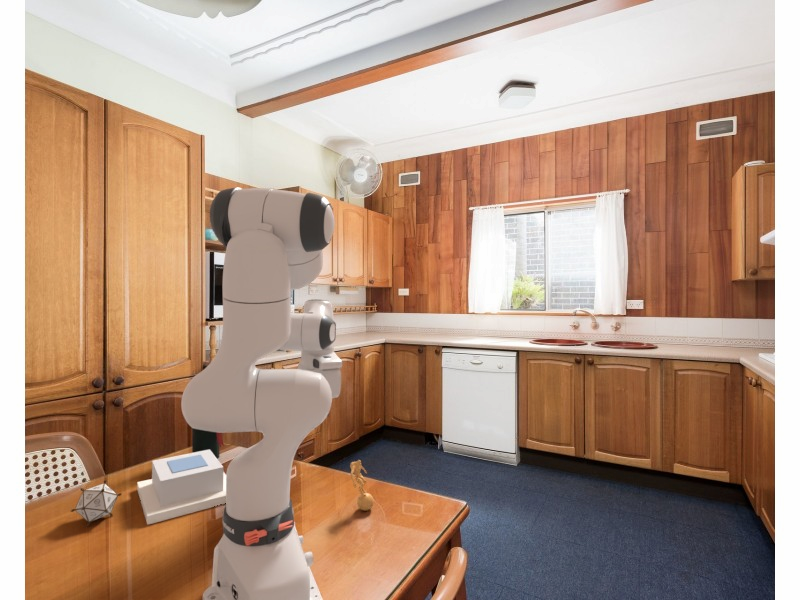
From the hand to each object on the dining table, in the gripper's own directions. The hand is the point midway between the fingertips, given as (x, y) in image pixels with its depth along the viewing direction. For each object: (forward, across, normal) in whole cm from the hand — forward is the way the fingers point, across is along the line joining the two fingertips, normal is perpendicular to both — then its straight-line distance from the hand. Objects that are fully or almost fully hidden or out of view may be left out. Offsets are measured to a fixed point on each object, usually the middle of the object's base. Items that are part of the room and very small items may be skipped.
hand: (316, 407), depth 120 cm
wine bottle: (+20, -32, -21) cm, 43 cm away
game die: (+21, -9, -50) cm, 55 cm away
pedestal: (+20, -10, -31) cm, 38 cm away
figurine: (+21, +20, +2) cm, 29 cm away
